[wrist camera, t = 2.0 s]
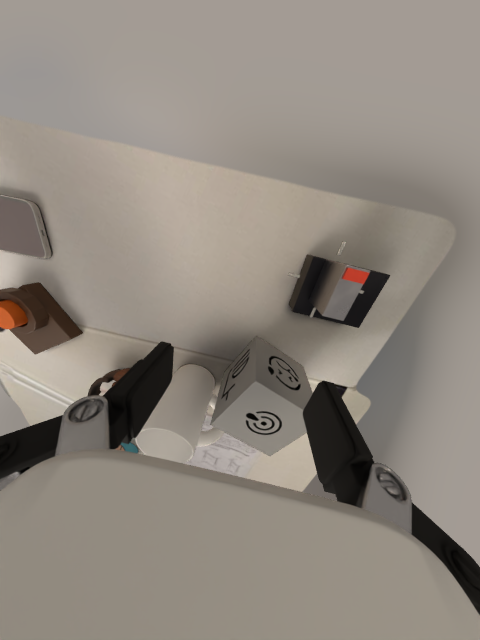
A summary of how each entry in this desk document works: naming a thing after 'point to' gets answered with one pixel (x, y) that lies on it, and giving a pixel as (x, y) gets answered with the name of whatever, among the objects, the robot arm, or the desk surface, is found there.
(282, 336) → the desk surface
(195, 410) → the mug
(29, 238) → the smartphone
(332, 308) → the red-banded grey bar
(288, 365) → the icon cube
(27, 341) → the control block
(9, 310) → the power button
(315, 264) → the switch panel
